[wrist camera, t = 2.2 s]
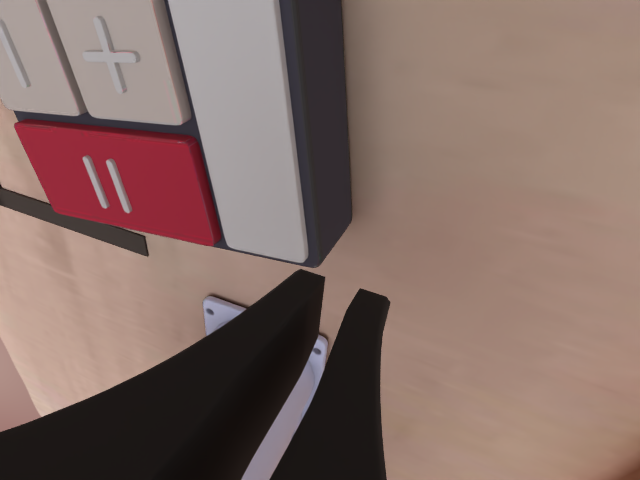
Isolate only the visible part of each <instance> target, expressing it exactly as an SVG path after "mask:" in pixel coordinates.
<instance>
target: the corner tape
mask: <svg viewBox="0 0 640 480" xmlns="http://www.w3.org/2000/svg"><path fill="white" fill-rule="evenodd" d="M0 205H1V206H4V207H7V208H10V209H13V210H15V211H18V212H21V213H24V214H27V215H30V216H33V217H35V218H38V219H41V220H44V221H47V222H50V223H53V224H55V225H58V226H61V227H64V228H67V229H70V230H73V231H75V232H78V233H81V234H84V235H87V236H90V237H93V238H95V239H98V240H101V241H104V242H107V243H110V244H113V245H115V246H118V247H121V248H124V249H127V250H130V251H133V252H135V253H138V254H141V255H144V256H148V252H147V247H146V242H145V237H144V236H142V235H139V234H136V233H133V232H130V231H127V230H124V229H121V228H118V227H115V226H112V225H108V224H104V223H99V222H94V221H90V220H85V219H80V218H76V217H71V216H67V215H62V214H59V213H56V212H55V211H54V210H53V208H52V206H51V205H50V204H47V203H44V202H41V201H38V200H35V199H32V198H29V197H26V196H23V195H20V194H17V193H14V192H12V191H9V190H6V189H3V188H1V186H0Z"/></svg>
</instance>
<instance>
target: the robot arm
mask: <svg viewBox="0 0 640 480" xmlns="http://www.w3.org/2000/svg"><path fill="white" fill-rule="evenodd" d="M324 283H325V277H324V276H321V275H318V274H315V273H311V272H308V271H305V270H302V269H300V270H298V271H296V272H294V273H293V274H292V275H291V276H289V277H288V278H287V279H286V280H284V281H283V282H282V283H281V284H279V285H278V286H277V287H276V288H274V289H273V290H272V291H270V292H269V293H268V294H266V295H265V296H264V297H262V298H261V299H260V300H258V301H257V302H256V303H254V304H253V305H252V306H250V307H249V308H247V309H246V308H243V307H241V306H238V305H235V304H232V303H229V302H227V301H224V300H221V299H218V298H216V297H213V296H207V297H206V298H205V299H204V300H203V310H204V319H205V328H206V337H204V338H203V339H201V340H200V341H198V342H196V343H195V344H193V345H192V346H190V347H188V348H187V349H185V350H183V351H182V352H180V353H178V354H176V355H175V356H173V357H171V358H169V359H167V360H166V361H164V362H162V363H160V364H158V365H156V366H154V367H153V368H151V369H149V370H147V371H145V372H143V373H141V374H139V375H137V376H135V377H133V378H131V379H129V380H127V381H125V382H123V383H121V384H118V385H116V386H114V387H112V388H110V389H108V390H106V391H104V392H101V393H99V394H97V395H95V396H92V397H90V398H88V399H86V400H83V401H81V402H78V403H76V404H73V405H71V406H68V407H66V408H63V409H61V410H58V411H56V412H53V413H51V414H48V415H46V416H43V417H41V418H38V419H36V420H33V421H31V422H28V423H26V424H23V425H20V426H17V427H14V428H11V429H8V430H5V431H2V432H0V480H387V479H386V469H385V460H384V451H383V439H382V425H381V404H380V365H381V346H382V336H383V330H384V326H385V322H386V318H387V314H388V310H389V306H390V301H389V300H388V298H387V297H385V296H382V295H379V294H376V293H373V292H370V291H367V290H364V289H361V288H360V289H359V291H358V292H357V294H356V295H355V297H354V299H353V300H352V302H351V304H350V305H349V307H348V309H347V310H346V313H345V316H344V318H343V321H342V323H341V326H340V329H339V331H338V334H337V337H336V339H335V342H334V345H333V347H332V350H331V353H330V355H329V358H328V361H327V363H326V366H325V362H326V354H327V347H328V342H327V340H326V339H325V338H324V337H323V336H321V335H318V334H319V325H320V317H321V308H322V300H323V291H324Z"/></svg>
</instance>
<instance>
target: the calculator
mask: <svg viewBox="0 0 640 480" xmlns="http://www.w3.org/2000/svg"><path fill="white" fill-rule="evenodd" d="M0 98H1V100H2V102H3V104H4V106H5V107H6V108H7V109H9V110H13V111H14V113H15V115H16V117H17V119H18V121H19V122H17V123H15V124H14V127H15V130H16V132H17V134H18V136H19V139H20V141H21V143H22V145H23V147H24V149H25V151H26V153H27V155H28V158H29V160H30V162H31V164H32V166H33V168H34V170H35V172H36V174H37V177H38V179H39V181H40V183H41V185H42V187H43V189H44V191H45V193H46V196H47V198H48V200H49V202H50V204H51V206H52V208H53V210H54V211H55V212H56V213H59V214H62V215H67V216H71V217H76V218H80V219H85V220H90V221H94V222H99V223H104V224H108V225H113V226H117V227H122V228H127V229H131V230H136V231H140V232H145V233H150V234H154V235H159V236H164V237H168V238H173V239H177V240H182V241H187V242H191V243H196V244H201V245H205V246H212V247H217V248H222V249H226V250H231V251H236V252H240V253H245V254H250V255H254V256H259V257H264V258H268V259H273V260H277V261H282V262H287V263H291V264H296V265H301V266H305V267H311V268H316V267H318V266H320V264H321V263H322V262H323V261H324V259H325V258H326V256H327V255H328V254H329V252H330V251H331V250H332V248H333V247H334V245H335V244H336V243H337V241H338V240H339V238H340V237H341V236H342V234H343V233H344V232H345V230H346V229H347V227H348V226H349V224H350V223H351V221H352V206H351V187H350V167H349V147H348V127H347V107H346V87H345V67H344V47H343V27H342V7H341V0H0Z"/></svg>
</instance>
